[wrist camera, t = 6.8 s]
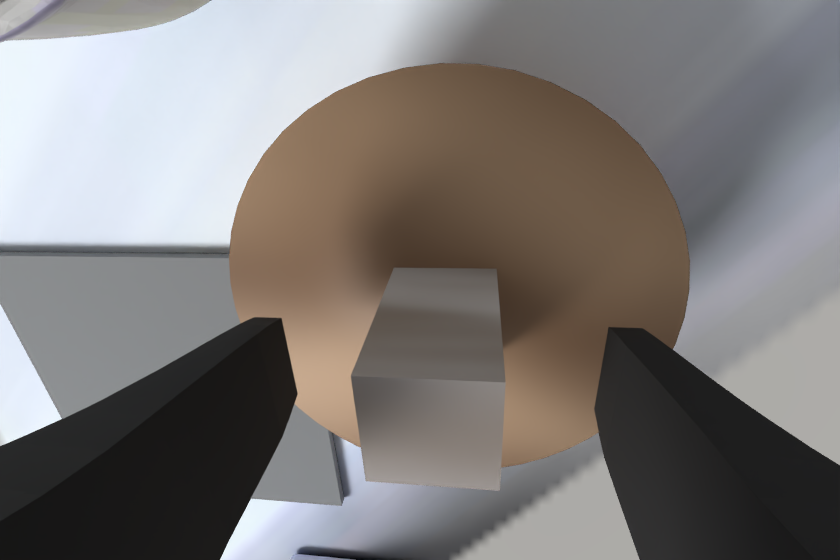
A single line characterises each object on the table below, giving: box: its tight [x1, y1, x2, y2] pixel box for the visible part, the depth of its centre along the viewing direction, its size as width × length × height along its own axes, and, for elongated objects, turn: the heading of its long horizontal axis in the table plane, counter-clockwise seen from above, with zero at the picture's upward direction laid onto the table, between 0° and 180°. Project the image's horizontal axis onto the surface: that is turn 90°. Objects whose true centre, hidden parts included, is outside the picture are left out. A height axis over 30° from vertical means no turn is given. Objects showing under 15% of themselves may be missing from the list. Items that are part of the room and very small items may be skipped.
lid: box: [229, 63, 690, 491], centre depth 9 cm, size 11×11×5 cm
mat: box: [0, 252, 344, 506], centre depth 19 cm, size 13×13×1 cm
